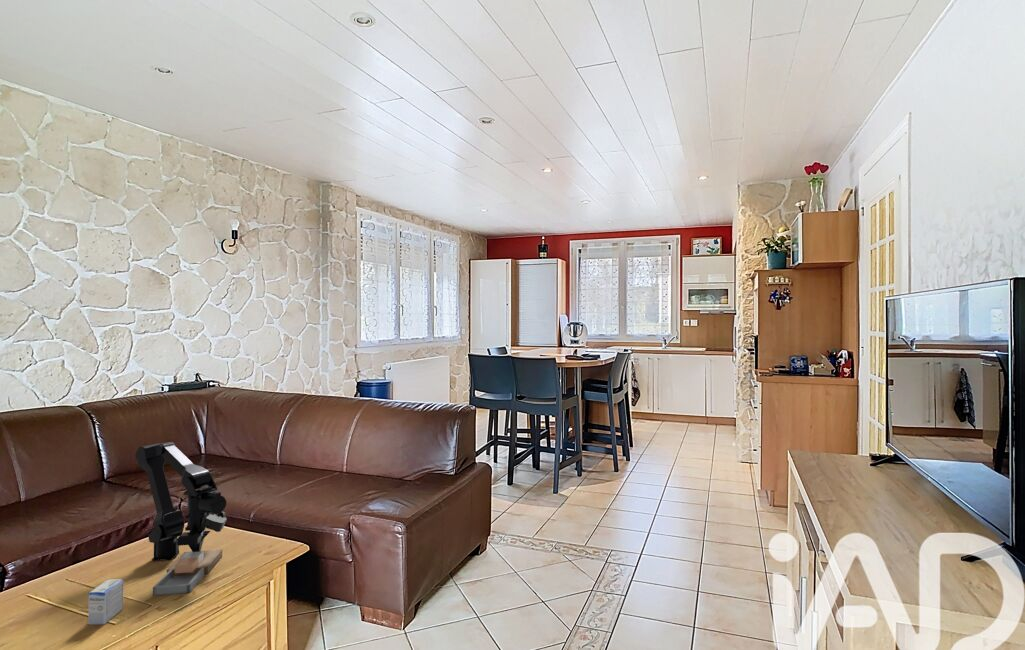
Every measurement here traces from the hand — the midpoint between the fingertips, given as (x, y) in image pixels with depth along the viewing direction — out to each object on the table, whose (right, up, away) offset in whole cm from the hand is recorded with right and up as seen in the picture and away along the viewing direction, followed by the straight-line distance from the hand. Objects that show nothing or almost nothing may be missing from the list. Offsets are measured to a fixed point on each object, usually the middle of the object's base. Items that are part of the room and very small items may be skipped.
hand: (197, 556), depth 185 cm
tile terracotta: (+2, -1, -9) cm, 9 cm away
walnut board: (0, -3, -1) cm, 3 cm away
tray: (+2, -3, -14) cm, 14 cm away
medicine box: (-6, -3, -33) cm, 34 cm away
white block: (+1, -1, -4) cm, 4 cm away
